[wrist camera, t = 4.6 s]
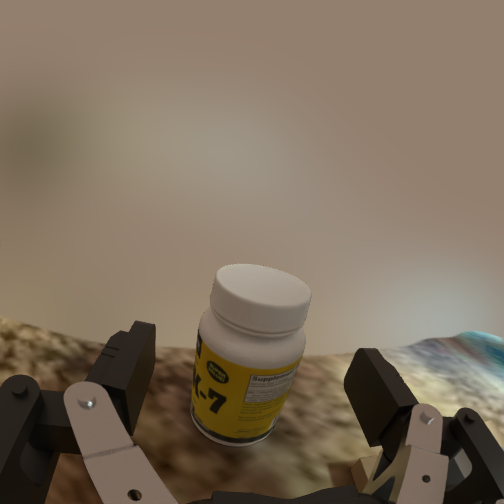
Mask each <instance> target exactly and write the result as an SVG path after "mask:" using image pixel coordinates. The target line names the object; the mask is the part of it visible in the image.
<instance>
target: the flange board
mask: <svg viewBox="0 0 504 504" xmlns="http://www.w3.org/2000/svg"><path fill="white" fill-rule="evenodd" d="M484 423H485V424H486V425H487V427H488V428H489V430H490V431H491V433H492V434H493V436H494V437H495V439H496V440H497V442H498V443H499V445H500V446H501V448H502V449H503V451H504V437H503V435H502V434H501V433H500V431H499V430H498V429H497V427H496V426H495V425H494V423H493V422H492V421H491V420H489V421H487V422H484ZM377 457H378V455H376V456H370V457H365V458H360V459H359V460H358V461H357V462H356V464H355V465H354V466H353V467H352V468H351V469H350V470H351V473H352V476H353V479H354V482H355V485H356V488H357V491H358V492H360V493H361V492H362V491H363V490H364V488H365V487H366V485H367V482H368V480H369V477H370V475H371V473H372V470H373V467H374V465H375V462H376V460H377ZM454 459H455V461H456V463H457V465H458V466H459V468H460V470H461V472H462V474H463V476H464V478H466V477H467V476H468V475H469V474H470V473H471V470H472V464H471V462H470V460H469V459H468V457H467V455H466V453H465V452H464V450H463V449H462V450H461V451H460V452H459V453H458V454H457V455H456V456H455V457H454Z"/></svg>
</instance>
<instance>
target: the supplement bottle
mask: <svg viewBox="0 0 504 504" xmlns="http://www.w3.org/2000/svg"><path fill="white" fill-rule="evenodd" d="M310 301H311V291H310V289H309V287H308V286H307V285H306V284H305V283H304V282H303V281H301V280H300V279H298V278H296V277H295V276H293V275H291V274H288V273H286V272H283V271H280V270H277V269H274V268H270V267H266V266H260V265H253V264H232V265H227V266H224V267H222V268H220V269H219V270H218V271H217V272H216V274H215V279H214V283H213V288H212V292H211V295H210V307H209V308H208V309H207V310H206V311H205V312H204V314H203V315H202V317H201V320H200V324H199V329H198V336H197V345H196V346H197V347H196V355H195V364H194V373H193V384H192V395H191V407H190V411H191V416H192V419H193V422H194V423H195V425H196V426H197V428H198V429H199V430H200V431H201V432H202V433H203V434H204V435H205V436H206V437H208V438H209V439H211V440H213V441H215V442H217V443H220V444H223V445H227V446H239V447H240V446H248V445H252V444H255V443H257V442H259V441H261V440H263V439H264V438H266V437H267V436H268V435H269V434H270V433H271V431H272V430H273V428H274V426H275V423H276V421H277V419H278V416H279V414H280V412H281V409H282V407H283V405H284V402H285V400H286V397H287V395H288V392H289V389H290V387H291V384H292V382H293V379H294V376H295V374H296V371H297V368H298V366H299V363H300V360H301V358H302V355H303V352H304V348H305V334H304V331H303V329H302V326H303V324H304V322H305V320H306V316H307V312H308V308H309V304H310Z"/></svg>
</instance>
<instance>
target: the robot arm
mask: <svg viewBox="0 0 504 504" xmlns="http://www.w3.org/2000/svg"><path fill="white" fill-rule="evenodd" d="M155 337H156V327H155V324H150V323H145V322H141V321H135V322H134V324H133V325H132V327H131V329H130V331H129V332H125V331H119V332H118V333H116V334H114V335H113V336H111V337H110V339H109V340H108V342H107V344H106V345H105V347H104V349H103V350H102V352H101V355H99V357H98V358H97V360H96V362H95V363H94V365H93V367H92V369H91V370H90V372H89V374H88V375H87V377H86V379H85V381H84V382H78V383H75V384H73V385H71V386H70V387H69V388H68V389H67V390H66V391H65V392H57V391H47V390H40V388H39V385H38V383H37V382H36V381H35V380H34V379H33V378H32V377H29V376H27V375H14V376H12V377H9V378H8V379H7V380H5V382H4V383H3V384H2V386H1V387H0V504H45V500H46V496H47V493H48V490H49V486H50V483H51V480H52V477H53V474H54V471H55V468H56V465H57V462H58V459H59V456H60V453H70V454H82V455H83V460H84V463H85V465H86V468H87V470H88V472H89V474H90V477H91V479H92V481H93V483H94V485H95V487H96V489H97V491H98V493H99V495H100V497H101V499H102V501H103V503H104V504H179V503H178V502H177V501H176V500H175V498H174V497H173V496H172V494H171V493H170V492H169V490H168V489H167V487H166V486H165V485H164V483H163V482H162V480H161V479H160V478H159V476H158V475H157V473H156V472H155V470H154V469H153V467H152V466H151V464H150V462H149V461H148V459H147V458H146V456H145V455H144V453H143V451H142V450H141V449H140V447H139V446H138V445H137V444H134V443H133V442H132V440H131V439H130V437H129V435H131V436H133V434H134V430H135V427H136V424H137V420H138V417H139V414H140V410H141V407H142V404H143V401H144V398H145V395H146V392H147V388H148V385H149V382H150V379H151V376H152V373H153V370H154V365H155ZM344 390H345V392H346V394H347V396H348V399H349V401H350V403H351V405H352V408H353V410H354V412H355V414H356V417H357V419H358V421H359V423H360V426H361V428H362V430H363V433H364V435H365V437H366V439H367V442H368V444H369V446H370V447H375V446H380V445H381V446H382V448H383V449H382V450H381V451H380V452H379V454H378V457H377V460H376V462H375V465H374V467H373V470H372V473H371V475H370V477H369V480H368V482H367V485H366V487H365V488H364V490H363V491H362V492H361V493H360V492H357V490H356V487H355V484H353V485H347V486H341V487H334V488H327V489H322V490H320V491H317V492H314V493H311V494H308V495H305V496H302V497H298V498H295V499H281V498H275V497H270V496H264V495H259V494H255V493H242V492H223V491H213V493H212V497H211V499H203V500H198V501H193V502H190V503H187V504H504V451H503V449H502V448H501V446H500V445H499V443H498V442H497V440H496V439H495V437H494V436H493V434H492V433H491V431H490V430H489V428H488V427H487V425H486V424H485V423H484V421H483V420H482V418H481V417H480V416H479V414H478V413H477V412H475V411H474V410H472V409H470V408H461V409H459V410H458V412H457V413H456V414H455V416H454V417H442V415H441V414H440V412H439V411H438V410H437V409H436V408H435V407H433V406H431V405H428V404H419V402H418V401H417V399H416V398H415V396H414V395H413V393H412V392H411V390H410V389H409V387H408V386H407V385H406V383H404V380H403V379H402V377H401V376H400V374H399V373H398V372H397V370H396V369H395V367H394V366H392V365H391V364H390V363H389V362H387V361H386V360H385V359H384V358H383V356H382V355H381V354H380V352H379V351H378V349H376V348H359V349H358V350H357V351H356V353H355V356H354V358H353V360H352V362H351V364H350V367H349V369H348V371H347V373H346V375H345V378H344ZM462 449H463V450H464V452H465V453H466V455H467V457H468V459H469V460H470V462H471V464H472V470H471V473H470V474H469V475H468V476H467V477H466V478H464V476H463V474H462V472H461V470H460V468H459V466H458V465H457V463H456V461H455V459H454V457H455V456H456V455H457V454H458V453H459V452H460V451H461V450H462Z"/></svg>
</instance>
